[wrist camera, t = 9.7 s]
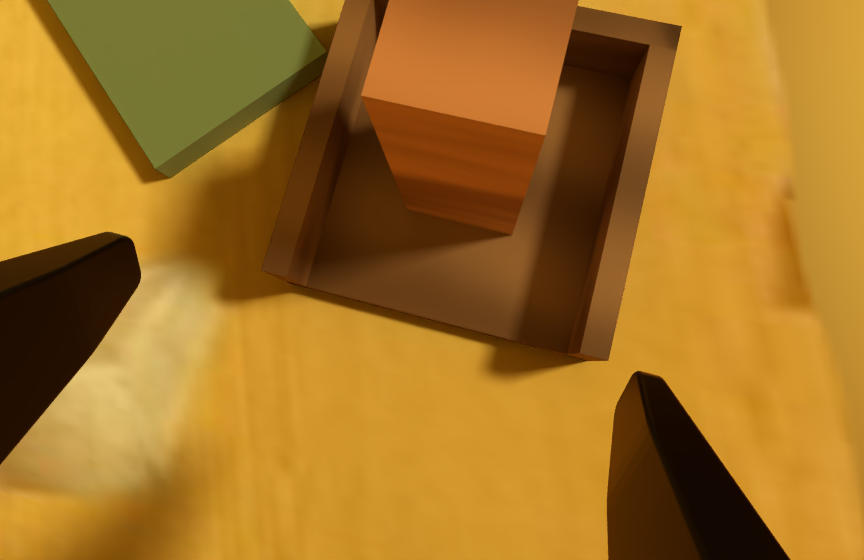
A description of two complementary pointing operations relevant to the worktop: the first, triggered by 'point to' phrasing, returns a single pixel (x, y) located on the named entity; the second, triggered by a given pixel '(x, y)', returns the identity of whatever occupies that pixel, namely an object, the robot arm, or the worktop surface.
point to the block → (466, 101)
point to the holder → (473, 246)
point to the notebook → (192, 66)
